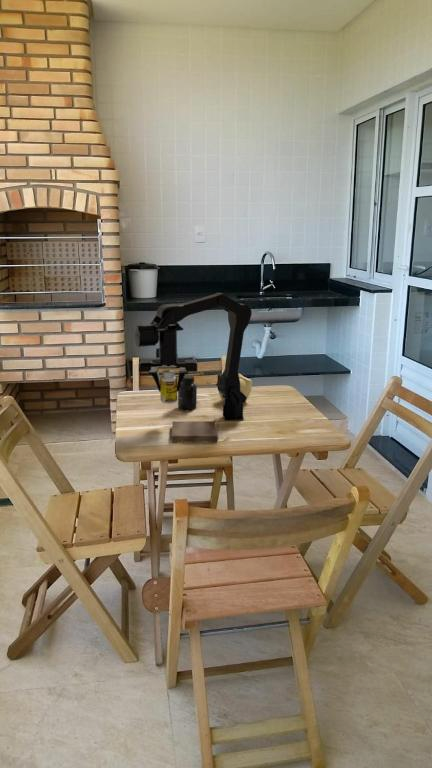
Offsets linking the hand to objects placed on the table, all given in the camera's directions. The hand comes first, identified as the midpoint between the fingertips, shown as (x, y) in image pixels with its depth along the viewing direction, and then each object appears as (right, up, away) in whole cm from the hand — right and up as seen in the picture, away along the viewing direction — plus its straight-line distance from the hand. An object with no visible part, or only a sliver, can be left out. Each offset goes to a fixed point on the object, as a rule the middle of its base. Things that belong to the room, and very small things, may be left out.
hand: (168, 391), depth 193 cm
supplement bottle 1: (0, -4, +1) cm, 4 cm away
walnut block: (+9, -14, -5) cm, 17 cm away
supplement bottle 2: (+5, -7, +22) cm, 23 cm away
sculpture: (+23, -5, +30) cm, 38 cm away
